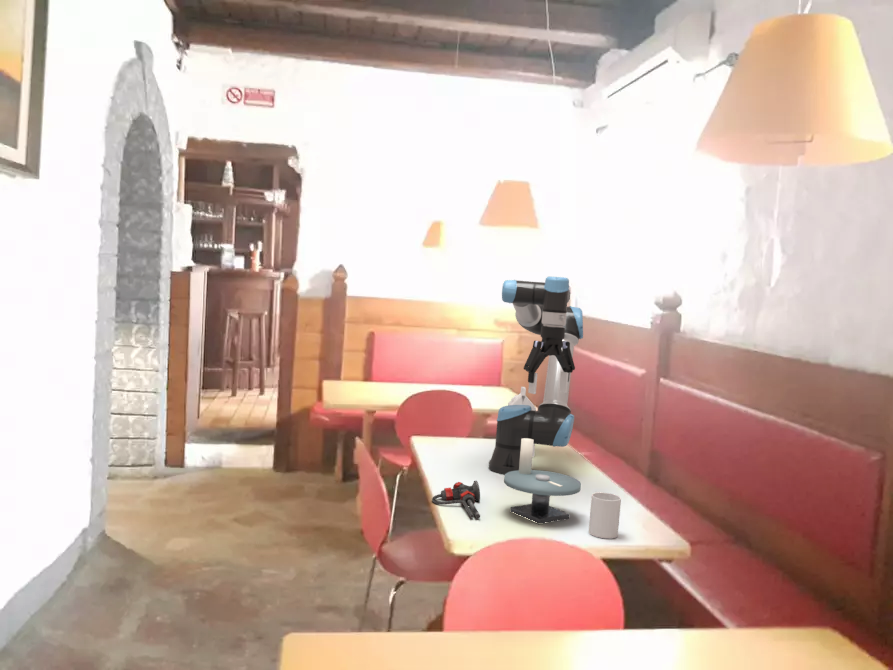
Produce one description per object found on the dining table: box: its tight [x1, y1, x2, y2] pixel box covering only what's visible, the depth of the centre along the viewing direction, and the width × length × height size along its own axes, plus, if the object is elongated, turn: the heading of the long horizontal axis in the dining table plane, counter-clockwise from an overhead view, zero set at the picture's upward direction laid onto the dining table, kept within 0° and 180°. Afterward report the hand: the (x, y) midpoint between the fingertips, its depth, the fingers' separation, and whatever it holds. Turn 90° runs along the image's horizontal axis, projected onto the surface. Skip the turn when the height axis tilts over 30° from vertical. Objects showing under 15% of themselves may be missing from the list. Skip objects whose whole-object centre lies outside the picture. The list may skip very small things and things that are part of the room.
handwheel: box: [503, 438, 582, 497], centre depth 223 cm, size 22×22×12 cm
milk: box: [507, 386, 537, 458], centre depth 307 cm, size 12×12×26 cm
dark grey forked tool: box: [431, 480, 481, 519], centre depth 228 cm, size 6×26×15 cm
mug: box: [588, 491, 622, 540], centre depth 213 cm, size 12×8×10 cm, turn 8°
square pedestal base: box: [509, 494, 570, 524], centre depth 224 cm, size 12×12×9 cm
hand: (547, 392), depth 245 cm, fingers open, 13 cm apart
